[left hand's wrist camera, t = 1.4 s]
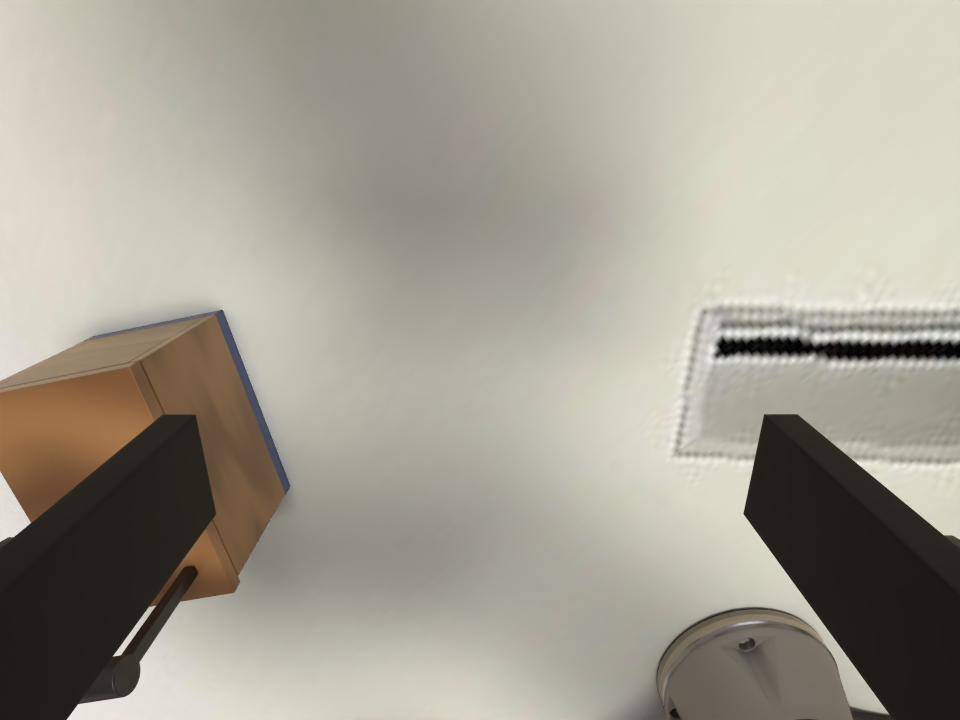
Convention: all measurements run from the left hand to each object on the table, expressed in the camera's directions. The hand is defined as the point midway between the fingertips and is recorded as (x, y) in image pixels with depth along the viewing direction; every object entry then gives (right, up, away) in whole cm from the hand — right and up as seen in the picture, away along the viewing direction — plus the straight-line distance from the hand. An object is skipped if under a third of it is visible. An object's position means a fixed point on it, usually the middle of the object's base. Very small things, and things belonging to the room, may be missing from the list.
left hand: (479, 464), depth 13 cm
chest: (-21, -2, +28) cm, 35 cm away
